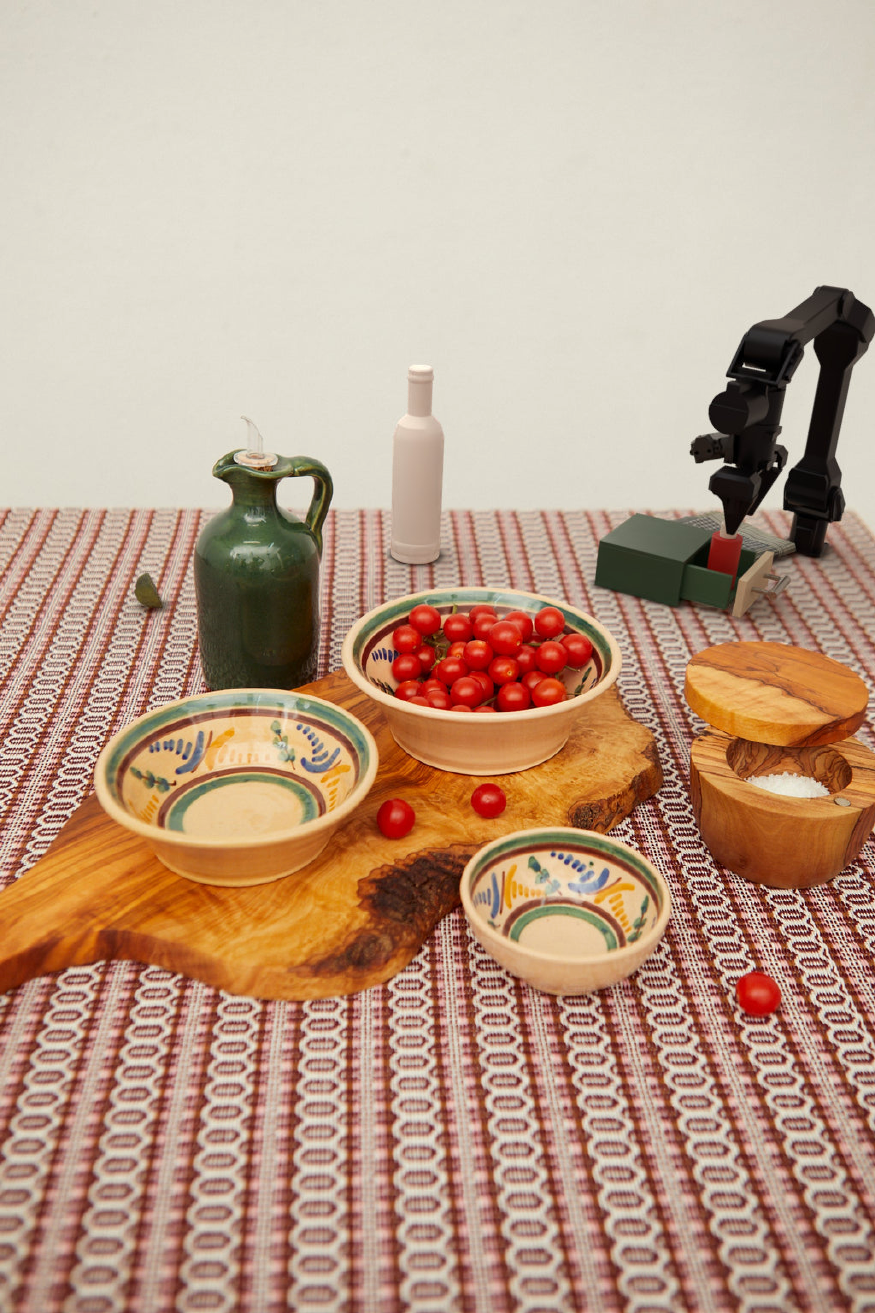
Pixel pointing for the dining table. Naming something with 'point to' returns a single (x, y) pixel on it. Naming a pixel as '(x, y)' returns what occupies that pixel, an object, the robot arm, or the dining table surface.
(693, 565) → the drawer
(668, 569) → the dark green box
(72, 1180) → the dining table surface
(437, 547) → the bottle
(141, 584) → the lime
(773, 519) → the dining table surface
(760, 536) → the dish towel
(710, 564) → the sauce bottle
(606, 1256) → the dining table surface
